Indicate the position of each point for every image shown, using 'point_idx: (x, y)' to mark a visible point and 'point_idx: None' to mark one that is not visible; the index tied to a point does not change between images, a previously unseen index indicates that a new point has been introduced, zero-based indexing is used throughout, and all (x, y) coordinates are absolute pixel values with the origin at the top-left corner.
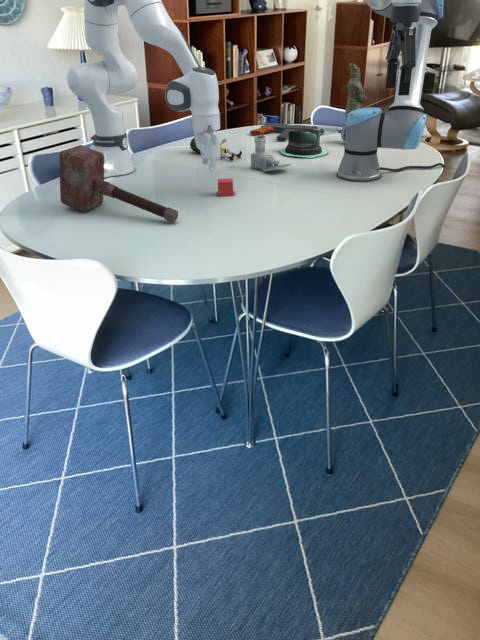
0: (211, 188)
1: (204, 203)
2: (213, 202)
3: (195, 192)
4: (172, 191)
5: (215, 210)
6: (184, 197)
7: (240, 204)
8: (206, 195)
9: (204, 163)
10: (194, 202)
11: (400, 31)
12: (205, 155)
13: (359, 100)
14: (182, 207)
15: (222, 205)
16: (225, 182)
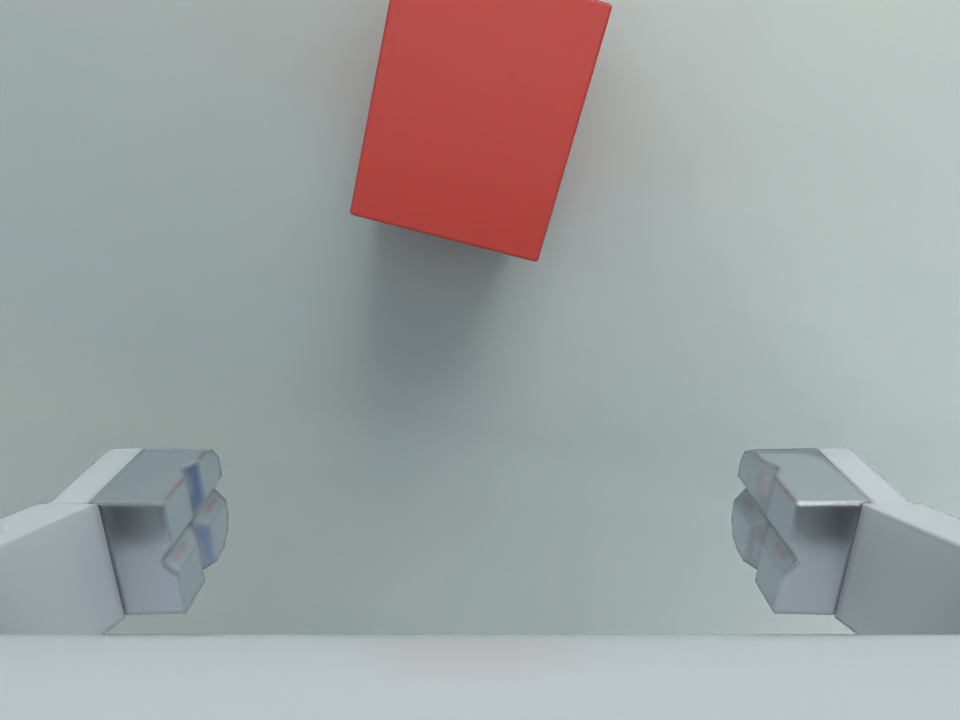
0: (189, 230)
1: (698, 423)
2: (710, 331)
3: (302, 432)
4: (211, 619)
5: (957, 371)
6: (435, 555)
7: (938, 45)
8: (445, 347)
9: (217, 530)
10: (624, 501)
11: None
12: (25, 591)
13: None
14: (713, 614)
15: (853, 265)
16: (570, 138)
